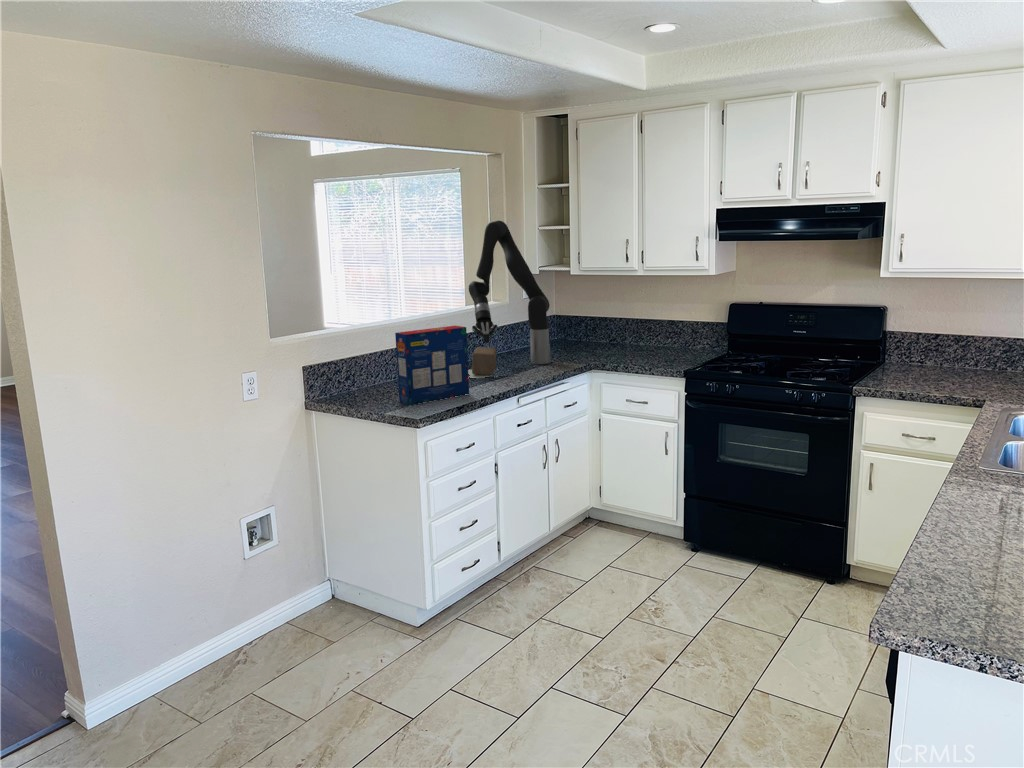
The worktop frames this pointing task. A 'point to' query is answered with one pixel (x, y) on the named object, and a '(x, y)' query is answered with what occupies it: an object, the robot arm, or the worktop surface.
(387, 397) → the worktop surface
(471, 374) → the mat
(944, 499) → the worktop surface
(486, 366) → the wooden block
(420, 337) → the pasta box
